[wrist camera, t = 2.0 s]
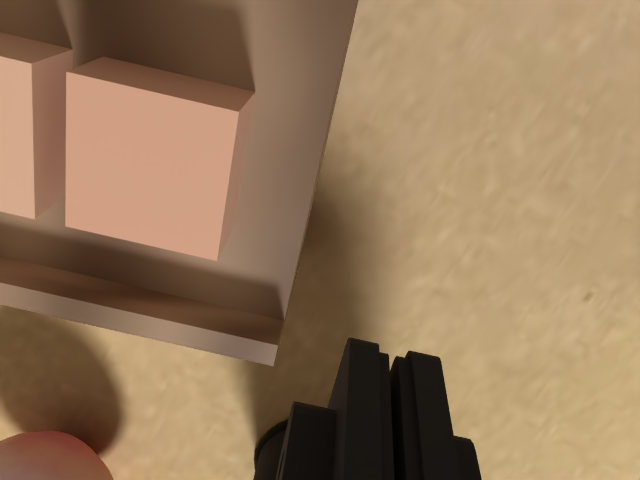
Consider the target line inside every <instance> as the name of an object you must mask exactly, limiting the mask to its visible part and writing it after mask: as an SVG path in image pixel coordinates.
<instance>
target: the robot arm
mask: <svg viewBox="0 0 640 480" xmlns="http://www.w3.org/2000/svg"><path fill="white" fill-rule="evenodd" d="M276 480H482V479H481V474H480V470H479V465H478V460H477V455H476V450H475V447H474V444H473V442H472V441H471V440H470V439H467V438H463V437H458V436H454V435H453V429H452V424H451V418H450V412H449V406H448V400H447V394H446V388H445V382H444V376H443V370H442V364H441V360H440V358H439V357H436V356H432V355H427V354H423V353H418V352H413V351H408V353H407V354H406V356H405V358H403V357H399V356H396V357H395V359H394V362H393V364H392V367H391V370H390V369H389V355H388V354H385V353H381V352H379V345H378V344H377V343H372V342H368V341H363V340H359V339H354V338H348V340H347V343H346V346H345V350H344V353H343V357H342V360H341V363H340V367H339V370H338V374H337V377H336V381H335V384H334V388H333V391H332V395H331V398H330V401H329V405H328V408H323V407H318V406H314V405H309V404H304V403H300V402H295V401H294V402H293V405H292V409H291V413H290V417H289V421H288V425H287V428H286V433H285V437H284V441H283V446H282V450H281V455H280V460H279V465H278V470H277V475H276Z"/></svg>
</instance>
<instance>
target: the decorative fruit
mask: <svg viewBox="0 0 640 480" xmlns="http://www.w3.org/2000/svg"><path fill="white" fill-rule="evenodd" d="M0 480H113V477H112V475H111V473H110V471H109V469H108V468H107V467H106V465H105V464H104V463H103V461H102V460H101V459H100V458H99V457H98V456H97V454H96V453H95V452H94V451H93V450H92V449H91V448H90V447H89V446H88V445H86V444H85V443H84V442H82V441H81V440H79V439H78V438H76V437H74V436H72V435H69V434H67V433H63V432H58V431H34V432H27V433H22V434H18V435H15V436H12V437H9V438H6V439H4V440H2V441H0Z"/></svg>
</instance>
